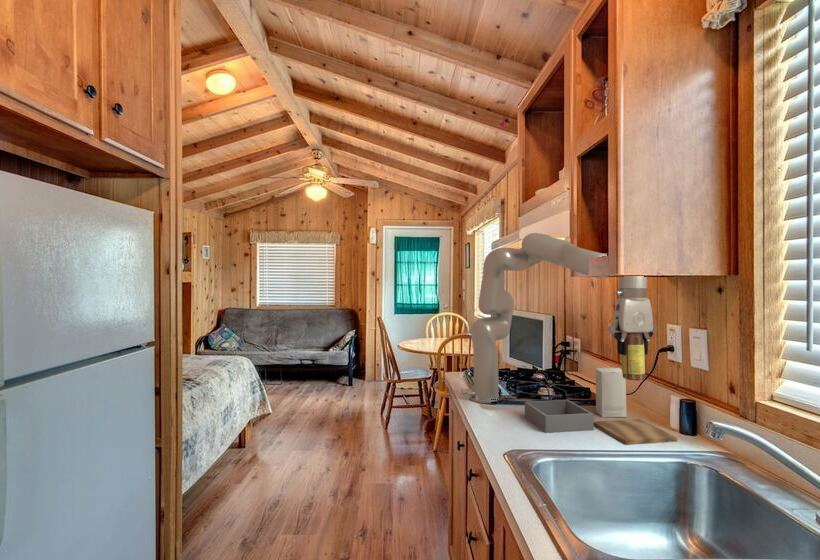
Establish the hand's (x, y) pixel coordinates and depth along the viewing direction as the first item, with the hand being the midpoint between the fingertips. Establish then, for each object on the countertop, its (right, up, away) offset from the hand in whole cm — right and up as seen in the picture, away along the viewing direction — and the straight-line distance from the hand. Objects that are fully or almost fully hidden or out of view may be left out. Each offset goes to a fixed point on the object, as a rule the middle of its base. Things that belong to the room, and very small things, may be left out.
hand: (632, 353), depth 128 cm
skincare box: (+2, -24, +17) cm, 30 cm away
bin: (-19, -24, +9) cm, 32 cm away
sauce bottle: (0, -8, 0) cm, 8 cm away
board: (0, -24, 0) cm, 24 cm away
